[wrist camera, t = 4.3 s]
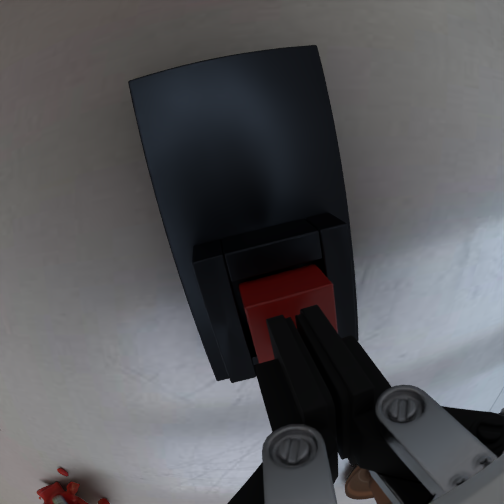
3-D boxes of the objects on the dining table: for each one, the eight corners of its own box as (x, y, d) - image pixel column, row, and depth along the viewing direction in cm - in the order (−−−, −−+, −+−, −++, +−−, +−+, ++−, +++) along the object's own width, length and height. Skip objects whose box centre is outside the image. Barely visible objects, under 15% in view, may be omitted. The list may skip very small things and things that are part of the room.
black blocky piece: (136, 88, 13) (115, 70, 9) (303, 55, 13) (335, 31, 10) (214, 359, 18) (219, 408, 14) (345, 323, 19) (374, 362, 15)
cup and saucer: (411, 403, 23) (447, 451, 17) (455, 426, 27) (482, 461, 21) (315, 480, 25) (333, 530, 19) (378, 489, 29) (396, 526, 23)
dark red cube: (237, 282, 13) (244, 307, 11) (314, 262, 13) (333, 283, 11) (254, 346, 14) (262, 375, 12) (323, 326, 14) (340, 352, 12)
